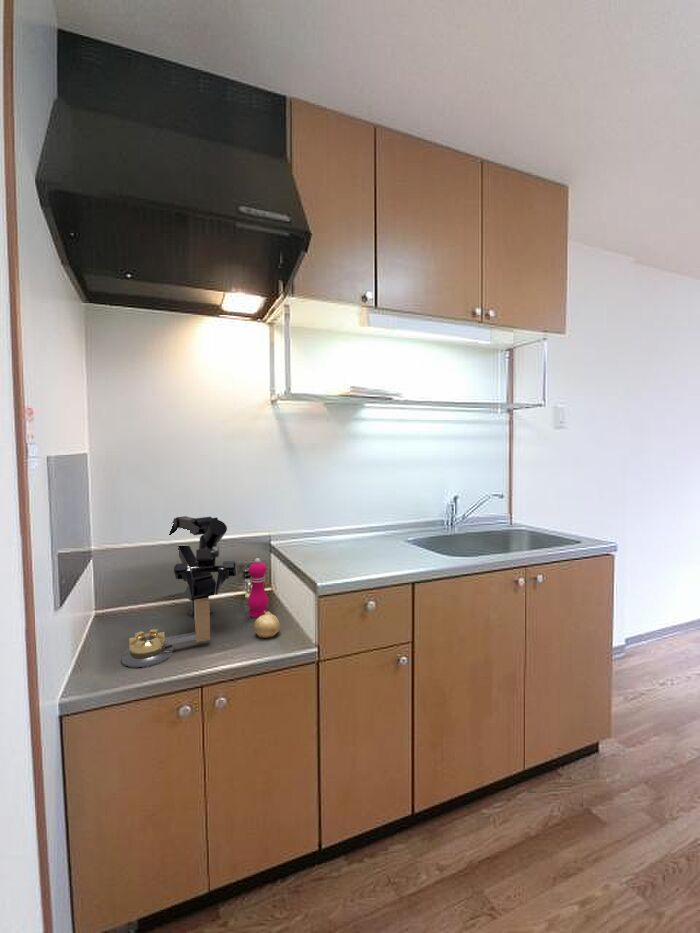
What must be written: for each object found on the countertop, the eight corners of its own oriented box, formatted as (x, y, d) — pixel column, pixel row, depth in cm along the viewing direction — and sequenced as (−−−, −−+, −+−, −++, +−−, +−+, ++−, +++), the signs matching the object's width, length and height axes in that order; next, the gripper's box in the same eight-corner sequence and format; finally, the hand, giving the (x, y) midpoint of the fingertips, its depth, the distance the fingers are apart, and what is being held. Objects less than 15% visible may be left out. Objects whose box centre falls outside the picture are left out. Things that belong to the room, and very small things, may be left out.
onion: (284, 635, 138) (284, 613, 137) (262, 643, 132) (262, 620, 132) (270, 627, 144) (270, 606, 143) (249, 634, 138) (248, 612, 138)
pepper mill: (263, 619, 150) (263, 561, 148) (244, 617, 151) (243, 560, 150) (271, 610, 157) (271, 556, 156) (253, 609, 158) (252, 555, 157)
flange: (116, 655, 125) (116, 649, 125) (163, 641, 134) (163, 636, 134) (129, 673, 115) (129, 667, 115) (179, 657, 124) (179, 651, 124)
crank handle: (129, 660, 118) (128, 617, 118) (130, 646, 126) (128, 606, 126) (212, 644, 128) (211, 604, 127) (207, 631, 136) (206, 594, 135)
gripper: (174, 538, 138) (167, 585, 128) (235, 536, 141) (233, 581, 131) (179, 556, 146) (173, 601, 136) (237, 553, 149) (235, 597, 140)
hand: (204, 594), depth 135 cm, fingers open, 7 cm apart
